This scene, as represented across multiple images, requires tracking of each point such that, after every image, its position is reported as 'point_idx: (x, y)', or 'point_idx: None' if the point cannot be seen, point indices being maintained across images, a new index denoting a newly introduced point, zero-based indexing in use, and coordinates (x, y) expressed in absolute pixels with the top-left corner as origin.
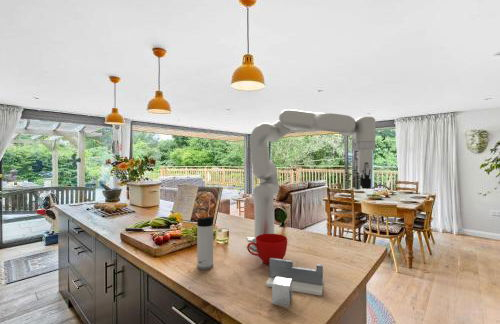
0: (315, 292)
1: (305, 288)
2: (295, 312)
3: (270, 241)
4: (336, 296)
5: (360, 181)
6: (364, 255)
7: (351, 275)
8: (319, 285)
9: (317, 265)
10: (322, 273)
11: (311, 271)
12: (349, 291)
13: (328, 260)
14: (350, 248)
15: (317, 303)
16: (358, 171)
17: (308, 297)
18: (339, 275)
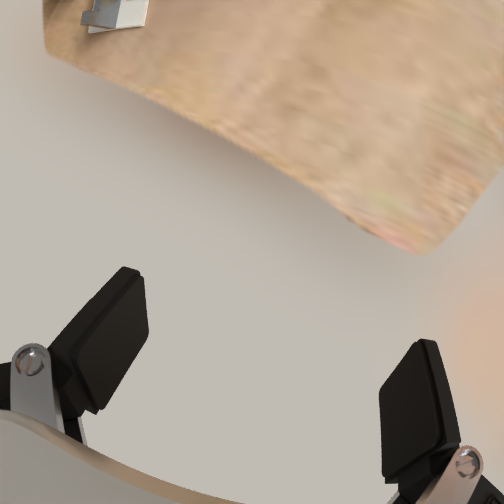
0: None
1: None
2: (53, 12)
3: None
4: (93, 57)
5: (436, 386)
6: (351, 169)
7: (186, 89)
8: None
9: (82, 14)
10: (91, 26)
11: (95, 4)
12: (112, 79)
13: (286, 37)
14: (416, 147)
15: (72, 32)
16: (90, 496)
17: None
18: (180, 59)
